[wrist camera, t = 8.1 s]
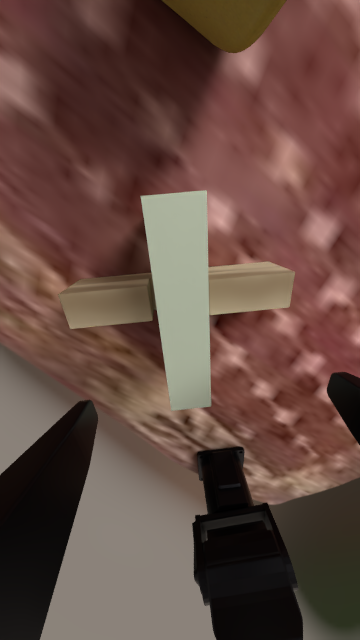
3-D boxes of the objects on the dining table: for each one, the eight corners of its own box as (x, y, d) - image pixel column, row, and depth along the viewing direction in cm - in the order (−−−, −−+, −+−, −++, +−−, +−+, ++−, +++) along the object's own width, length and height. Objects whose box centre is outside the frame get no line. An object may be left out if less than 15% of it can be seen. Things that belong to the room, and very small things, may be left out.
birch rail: (265, 290, 19) (289, 307, 15) (89, 307, 18) (70, 328, 15) (268, 261, 17) (295, 271, 14) (80, 279, 17) (58, 294, 13)
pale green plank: (195, 341, 20) (211, 406, 13) (169, 344, 20) (171, 410, 13) (187, 205, 15) (206, 190, 8) (152, 208, 15) (140, 196, 8)
